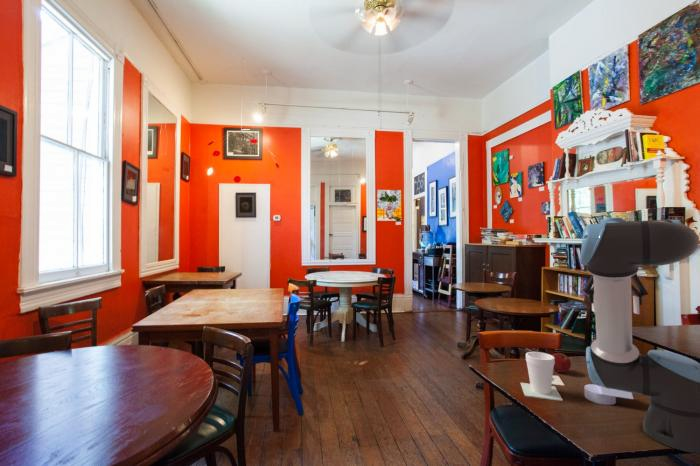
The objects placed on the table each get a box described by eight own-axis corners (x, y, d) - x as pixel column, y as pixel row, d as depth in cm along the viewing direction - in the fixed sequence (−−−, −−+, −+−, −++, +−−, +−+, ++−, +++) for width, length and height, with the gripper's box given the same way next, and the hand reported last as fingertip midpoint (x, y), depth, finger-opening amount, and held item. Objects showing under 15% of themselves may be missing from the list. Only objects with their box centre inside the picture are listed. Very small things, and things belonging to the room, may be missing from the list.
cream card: (564, 385, 133) (564, 385, 133) (535, 382, 136) (535, 381, 136) (558, 376, 142) (558, 375, 142) (531, 373, 146) (531, 372, 146)
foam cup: (559, 397, 122) (558, 360, 122) (531, 395, 124) (530, 359, 124) (549, 386, 131) (548, 352, 132) (523, 384, 133) (522, 351, 134)
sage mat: (562, 401, 120) (562, 399, 120) (524, 396, 124) (524, 395, 124) (554, 387, 131) (554, 386, 131) (520, 383, 135) (520, 382, 135)
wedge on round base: (626, 398, 122) (582, 391, 128) (625, 379, 122) (582, 373, 128) (633, 409, 114) (587, 401, 120) (633, 389, 114) (586, 382, 120)
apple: (553, 374, 144) (552, 355, 145) (548, 367, 152) (547, 349, 152) (573, 376, 142) (573, 357, 142) (567, 369, 150) (566, 351, 150)
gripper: (647, 257, 131) (649, 312, 131) (573, 257, 139) (574, 309, 139) (658, 258, 124) (660, 316, 124) (578, 257, 132) (580, 312, 132)
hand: (615, 312), depth 131 cm, fingers open, 13 cm apart
